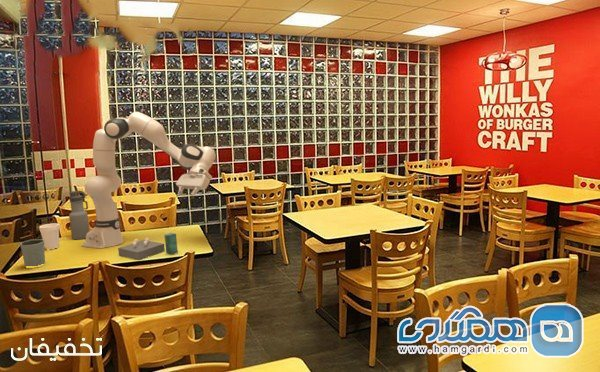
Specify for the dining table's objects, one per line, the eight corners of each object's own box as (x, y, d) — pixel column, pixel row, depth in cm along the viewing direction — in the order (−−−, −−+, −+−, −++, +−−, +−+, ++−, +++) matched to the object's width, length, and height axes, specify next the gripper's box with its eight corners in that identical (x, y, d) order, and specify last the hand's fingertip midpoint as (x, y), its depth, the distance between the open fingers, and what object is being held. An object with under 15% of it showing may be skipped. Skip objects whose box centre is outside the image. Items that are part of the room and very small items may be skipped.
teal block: (166, 253, 231) (164, 234, 229) (172, 251, 234) (170, 232, 232) (171, 254, 229) (169, 235, 227) (177, 252, 232) (176, 233, 230)
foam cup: (41, 252, 243) (38, 228, 241) (43, 247, 251) (40, 224, 249) (61, 249, 247) (58, 226, 244) (62, 244, 255) (59, 222, 253)
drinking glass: (36, 261, 227) (32, 238, 225) (52, 262, 224) (49, 239, 222) (18, 268, 217) (14, 244, 215) (35, 269, 215) (31, 245, 213)
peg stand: (118, 255, 231) (117, 242, 230) (145, 247, 244) (143, 234, 243) (138, 260, 222) (137, 246, 221) (164, 251, 235) (163, 238, 234)
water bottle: (82, 234, 276) (76, 189, 271) (94, 235, 272) (88, 189, 267) (68, 239, 266) (62, 192, 262) (80, 240, 263) (74, 193, 258)
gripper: (180, 169, 247) (168, 190, 240) (207, 170, 235) (195, 192, 229) (187, 176, 251) (176, 197, 245) (214, 177, 239) (202, 199, 233)
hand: (185, 194), depth 237 cm, fingers open, 8 cm apart
